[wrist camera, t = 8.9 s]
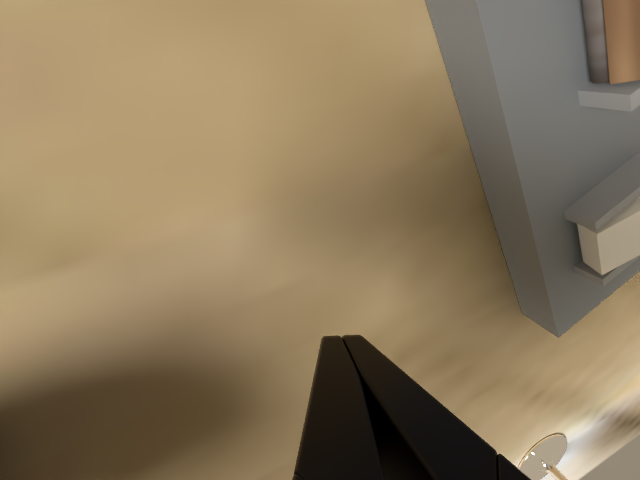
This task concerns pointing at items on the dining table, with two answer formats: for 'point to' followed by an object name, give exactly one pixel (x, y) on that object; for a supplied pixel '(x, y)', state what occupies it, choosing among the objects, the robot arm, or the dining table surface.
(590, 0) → the walnut lever
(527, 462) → the wineglass
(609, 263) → the rocker switch
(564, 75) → the long grey mounting plate
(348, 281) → the dining table surface
